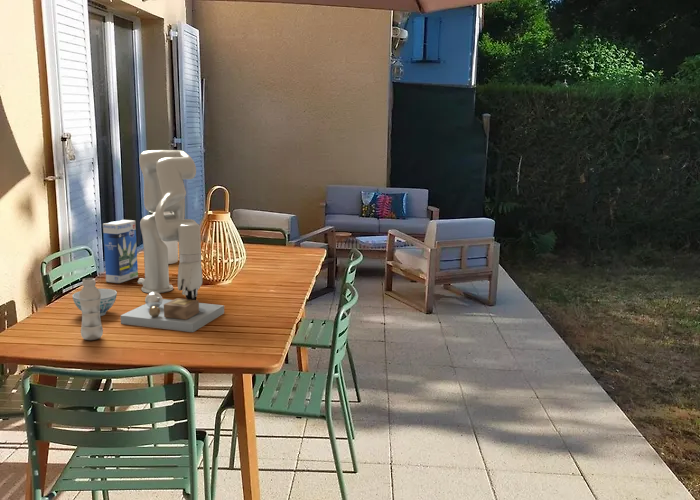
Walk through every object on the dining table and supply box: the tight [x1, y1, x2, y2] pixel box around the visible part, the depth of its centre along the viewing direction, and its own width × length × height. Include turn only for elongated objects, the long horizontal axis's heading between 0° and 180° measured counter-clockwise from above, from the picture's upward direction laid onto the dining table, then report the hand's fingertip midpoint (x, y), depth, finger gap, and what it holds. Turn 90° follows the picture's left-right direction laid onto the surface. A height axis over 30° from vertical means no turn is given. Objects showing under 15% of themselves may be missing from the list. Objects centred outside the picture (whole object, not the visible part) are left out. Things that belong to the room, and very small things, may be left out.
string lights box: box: [102, 219, 139, 284], centre depth 282 cm, size 13×8×26 cm, turn 161°
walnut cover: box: [164, 297, 200, 320], centre depth 224 cm, size 9×9×5 cm
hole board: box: [120, 298, 225, 333], centre depth 231 cm, size 28×23×3 cm
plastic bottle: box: [79, 277, 104, 341], centre depth 206 cm, size 6×7×20 cm
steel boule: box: [144, 292, 164, 308], centre depth 232 cm, size 6×6×6 cm
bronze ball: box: [149, 306, 160, 317], centre depth 222 cm, size 4×4×4 cm
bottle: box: [151, 212, 179, 265], centre depth 317 cm, size 14×14×28 cm
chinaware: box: [71, 288, 118, 317], centre depth 233 cm, size 15×15×8 cm
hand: (191, 307), depth 231 cm, fingers closed
